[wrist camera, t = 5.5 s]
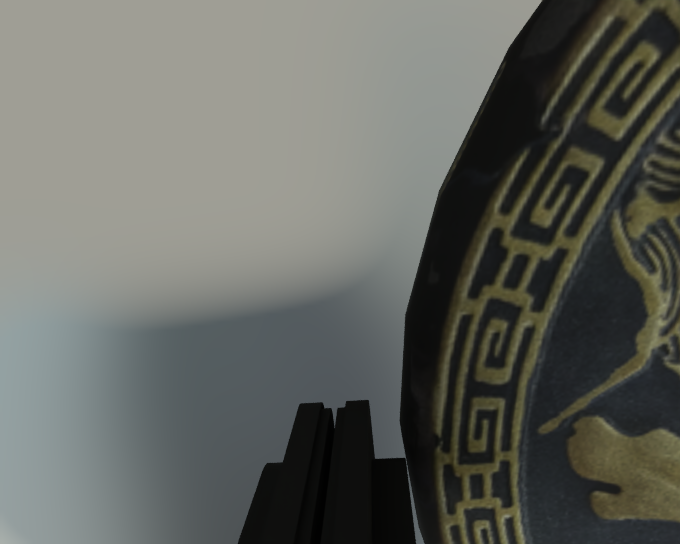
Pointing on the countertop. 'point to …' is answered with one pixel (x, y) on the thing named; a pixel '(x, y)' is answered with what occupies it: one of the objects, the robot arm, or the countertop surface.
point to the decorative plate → (555, 294)
